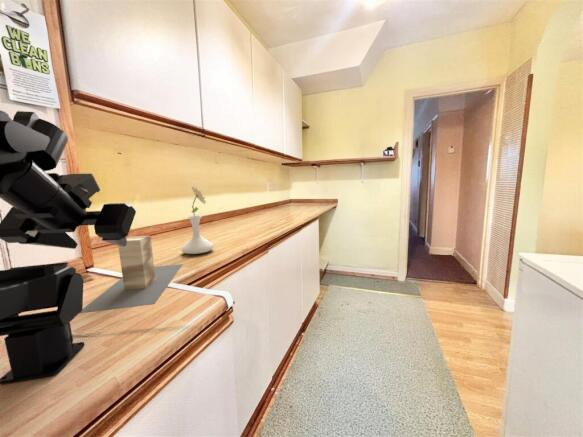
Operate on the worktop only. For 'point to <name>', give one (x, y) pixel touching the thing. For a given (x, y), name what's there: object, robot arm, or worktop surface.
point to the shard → (87, 277)
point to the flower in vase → (196, 231)
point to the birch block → (137, 262)
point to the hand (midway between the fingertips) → (100, 245)
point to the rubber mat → (134, 292)
